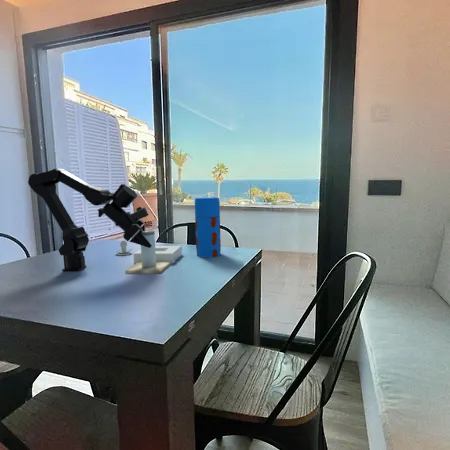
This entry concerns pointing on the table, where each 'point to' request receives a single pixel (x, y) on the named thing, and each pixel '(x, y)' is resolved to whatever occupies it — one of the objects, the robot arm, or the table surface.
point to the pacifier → (123, 249)
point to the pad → (139, 269)
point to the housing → (162, 254)
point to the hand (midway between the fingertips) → (151, 244)
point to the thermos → (207, 227)
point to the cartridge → (148, 250)
